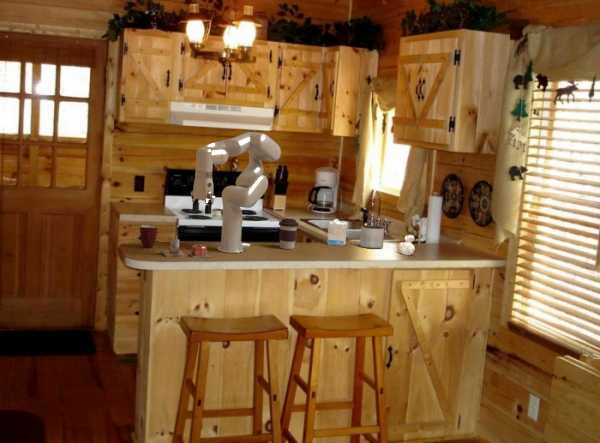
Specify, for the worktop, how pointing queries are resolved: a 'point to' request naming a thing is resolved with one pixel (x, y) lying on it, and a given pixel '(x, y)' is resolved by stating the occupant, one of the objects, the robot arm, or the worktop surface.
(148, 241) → the mug
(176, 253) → the post base
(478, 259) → the worktop surface
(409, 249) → the duck figurine
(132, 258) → the worktop surface
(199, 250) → the orange round piece
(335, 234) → the ink box
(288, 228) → the coffee cup
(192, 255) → the mat
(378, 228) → the planter
